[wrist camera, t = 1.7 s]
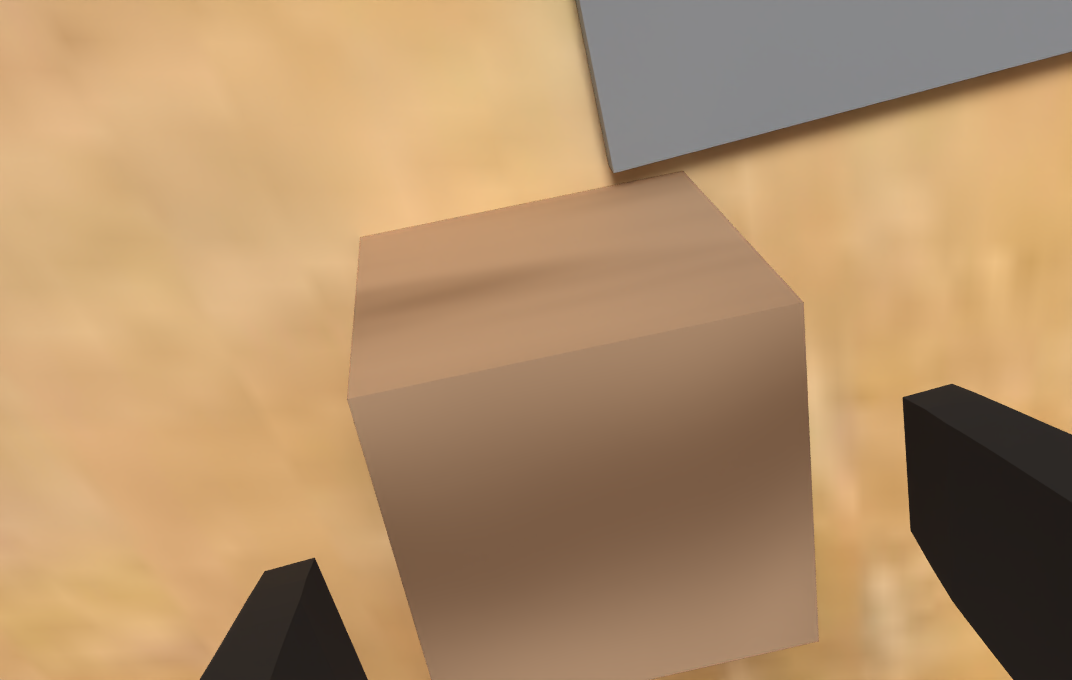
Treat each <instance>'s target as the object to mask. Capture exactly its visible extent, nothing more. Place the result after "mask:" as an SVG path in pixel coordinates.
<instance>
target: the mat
mask: <svg viewBox="0 0 1072 680" xmlns="http://www.w3.org/2000/svg"><path fill="white" fill-rule="evenodd" d="M576 4H577V9H578V14H579V19H580V24H581V29H582V34H583V39H584V44H585V49H586V54H587V59H588V64H589V69H590V74H591V79H592V84H593V89H594V94H595V99H596V104H597V109H598V114H599V119H600V123H601V128H602V133H603V138H604V143H605V148H606V153H607V158H608V163H609V167H610V168H611V170H612V171H613V172H614V173H616V172H620V171H624V170H628V169H631V168H635V167H639V166H643V165H647V164H650V163H654V162H658V161H662V160H665V159H669V158H673V157H677V156H680V155H684V154H688V153H692V152H695V151H699V150H703V149H707V148H710V147H714V146H718V145H722V144H725V143H729V142H733V141H737V140H741V139H744V138H748V137H752V136H756V135H759V134H763V133H767V132H771V131H774V130H778V129H782V128H786V127H789V126H793V125H797V124H801V123H804V122H808V121H812V120H816V119H819V118H823V117H827V116H831V115H835V114H838V113H842V112H846V111H850V110H853V109H857V108H861V107H865V106H868V105H872V104H876V103H880V102H883V101H887V100H891V99H895V98H898V97H902V96H906V95H910V94H913V93H917V92H921V91H925V90H928V89H932V88H936V87H940V86H944V85H947V84H951V83H955V82H959V81H962V80H966V79H970V78H974V77H977V76H981V75H985V74H989V73H992V72H996V71H1000V70H1004V69H1007V68H1011V67H1015V66H1019V65H1022V64H1026V63H1030V62H1034V61H1038V60H1041V59H1045V58H1049V57H1053V56H1056V55H1060V54H1064V53H1068V52H1071V51H1072V0H576Z"/></svg>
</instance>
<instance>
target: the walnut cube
mask: <svg viewBox="0 0 1072 680" xmlns="http://www.w3.org/2000/svg"><path fill="white" fill-rule="evenodd" d="M347 400H348V403H349V407H350V410H351V413H352V417H353V420H354V423H355V427H356V430H357V433H358V437H359V440H360V443H361V447H362V450H363V453H364V457H365V460H366V464H367V467H368V470H369V474H370V477H371V480H372V484H373V487H374V490H375V494H376V497H377V500H378V504H379V507H380V510H381V514H382V517H383V520H384V524H385V527H386V530H387V534H388V537H389V540H390V544H391V547H392V550H393V554H394V557H395V560H396V564H397V567H398V570H399V574H400V577H401V580H402V584H403V587H404V590H405V594H406V597H407V600H408V604H409V607H410V610H411V614H412V617H413V620H414V624H415V627H416V630H417V634H418V637H419V640H420V644H421V647H422V650H423V654H424V657H425V660H426V664H427V667H428V670H429V674H430V677H431V680H651V679H655V678H660V677H664V676H668V675H673V674H677V673H681V672H686V671H690V670H695V669H699V668H703V667H708V666H712V665H717V664H721V663H725V662H730V661H734V660H739V659H743V658H747V657H752V656H756V655H761V654H765V653H769V652H774V651H778V650H783V649H787V648H791V647H796V646H800V645H805V644H809V643H813V642H818V641H819V635H818V613H817V591H816V569H815V546H814V524H813V502H812V480H811V457H810V435H809V413H808V391H807V368H806V346H805V324H804V302H803V301H802V300H801V299H800V298H799V297H798V296H797V295H796V293H795V292H794V291H793V290H792V289H791V288H790V287H789V286H788V285H787V284H786V283H785V281H784V280H783V279H782V278H781V277H780V276H779V275H778V274H777V273H776V272H775V271H774V269H773V268H772V267H771V266H770V265H769V264H768V263H767V262H766V261H765V260H764V259H763V257H762V256H761V255H760V254H759V253H758V252H757V251H756V250H755V249H754V248H753V247H752V246H751V244H750V243H749V242H748V241H747V240H746V239H745V238H744V237H743V236H742V235H741V234H740V232H739V231H738V230H737V229H736V228H735V227H734V226H733V225H732V224H731V223H730V222H729V220H728V219H727V218H726V217H725V216H724V215H723V214H722V213H721V212H720V211H719V210H718V208H717V207H716V206H715V205H714V204H713V203H712V202H711V201H710V200H709V199H708V198H707V196H706V195H705V194H704V193H703V192H702V191H701V190H700V189H699V188H698V187H697V186H696V185H695V183H694V182H693V181H692V180H691V179H690V178H689V177H688V176H687V175H686V174H685V173H684V171H680V172H675V173H670V174H666V175H661V176H656V177H651V178H646V179H641V180H636V181H631V182H627V183H622V184H617V185H612V186H607V187H602V188H597V189H592V190H588V191H583V192H578V193H573V194H568V195H563V196H558V197H553V198H549V199H544V200H539V201H534V202H529V203H524V204H519V205H514V206H510V207H505V208H500V209H495V210H490V211H485V212H480V213H475V214H471V215H466V216H461V217H456V218H451V219H446V220H441V221H436V222H432V223H427V224H422V225H417V226H412V227H407V228H402V229H398V230H393V231H388V232H383V233H378V234H373V235H368V236H363V237H360V247H359V259H358V272H357V284H356V296H355V309H354V321H353V333H352V346H351V358H350V370H349V383H348V395H347Z"/></svg>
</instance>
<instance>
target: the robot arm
mask: <svg viewBox="0 0 1072 680" xmlns="http://www.w3.org/2000/svg"><path fill="white" fill-rule="evenodd" d="M903 412H904V429H905V445H906V462H907V478H908V495H909V511H910V528H911V532H912V534H913V535H914V537H915V539H916V541H917V542H918V544H919V546H920V548H921V549H922V551H923V553H924V555H925V556H926V558H927V560H928V561H929V563H930V565H931V567H932V568H933V570H934V572H935V573H936V575H937V577H938V578H939V580H940V582H941V583H942V585H943V586H944V588H945V590H946V591H947V593H948V595H949V596H950V598H951V600H952V601H953V602H954V604H955V605H956V606H957V608H958V609H959V610H960V612H961V613H962V614H963V616H964V617H965V618H966V620H967V621H968V622H969V623H970V625H971V626H972V627H973V629H974V630H975V631H976V632H977V634H978V635H979V636H980V638H981V639H982V640H983V642H984V643H985V644H986V645H987V647H988V648H989V649H990V651H991V652H992V653H993V654H994V656H995V657H996V658H997V659H998V661H999V662H1000V663H1001V665H1002V666H1003V667H1004V668H1005V670H1006V671H1007V672H1008V673H1009V675H1010V676H1011V677H1012V679H1013V680H1072V435H1071V434H1069V433H1067V432H1064V431H1062V430H1060V429H1057V428H1055V427H1053V426H1050V425H1048V424H1046V423H1044V422H1041V421H1039V420H1037V419H1034V418H1032V417H1030V416H1028V415H1025V414H1023V413H1021V412H1018V411H1016V410H1014V409H1012V408H1009V407H1007V406H1005V405H1002V404H1000V403H998V402H996V401H993V400H991V399H989V398H986V397H984V396H982V395H979V394H977V393H974V392H972V391H969V390H967V389H964V388H962V387H959V386H956V385H954V384H950V385H946V386H942V387H939V388H935V389H931V390H928V391H924V392H920V393H917V394H913V395H909V396H906V397H903ZM200 680H368V679H367V677H366V675H365V672H364V670H363V668H362V665H361V663H360V661H359V658H358V656H357V654H356V652H355V649H354V647H353V645H352V642H351V640H350V638H349V635H348V633H347V631H346V629H345V626H344V624H343V622H342V619H341V617H340V615H339V612H338V610H337V608H336V606H335V603H334V601H333V599H332V596H331V594H330V592H329V590H328V587H327V585H326V583H325V580H324V578H323V576H322V573H321V571H320V569H319V567H318V564H317V562H316V560H315V558H312V559H308V560H305V561H301V562H297V563H294V564H290V565H286V566H283V567H279V568H275V569H272V570H268V571H265V572H264V573H263V575H262V577H261V578H260V580H259V581H258V583H257V585H256V586H255V588H254V590H253V591H252V593H251V594H250V596H249V598H248V599H247V601H246V603H245V604H244V606H243V608H242V609H241V611H240V613H239V615H238V616H237V618H236V620H235V621H234V623H233V625H232V626H231V628H230V630H229V632H228V633H227V635H226V637H225V638H224V640H223V642H222V643H221V645H220V647H219V648H218V650H217V652H216V653H215V655H214V657H213V659H212V660H211V662H210V664H209V665H208V667H207V669H206V670H205V672H204V673H203V675H202V677H201V678H200Z"/></svg>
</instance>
